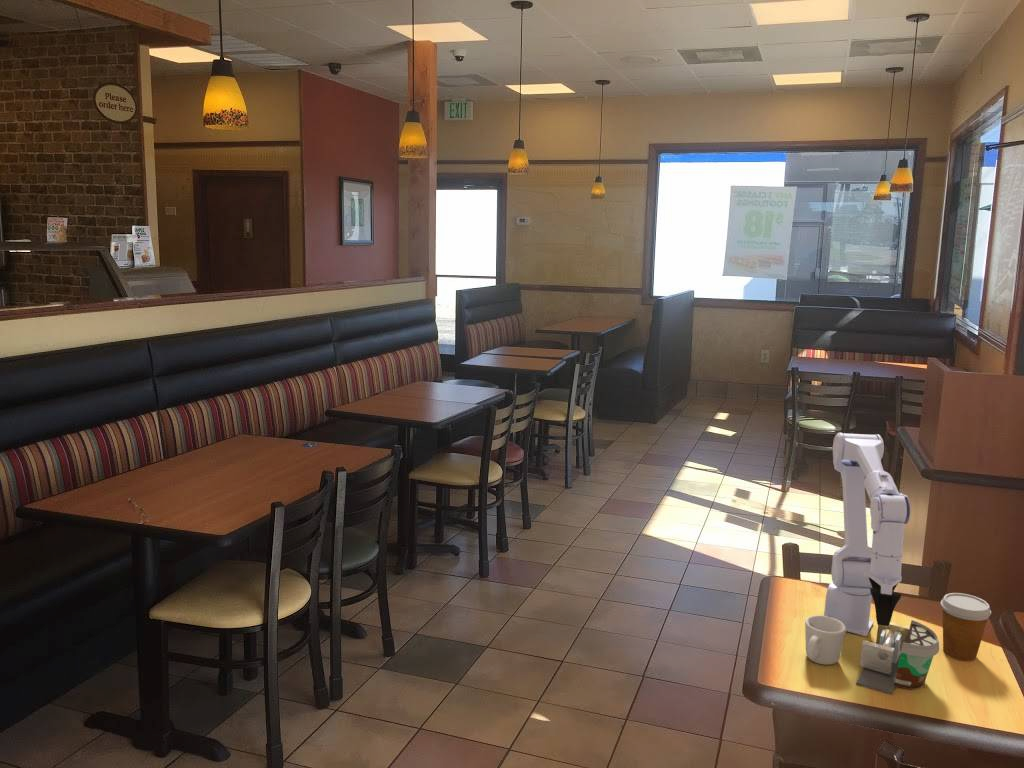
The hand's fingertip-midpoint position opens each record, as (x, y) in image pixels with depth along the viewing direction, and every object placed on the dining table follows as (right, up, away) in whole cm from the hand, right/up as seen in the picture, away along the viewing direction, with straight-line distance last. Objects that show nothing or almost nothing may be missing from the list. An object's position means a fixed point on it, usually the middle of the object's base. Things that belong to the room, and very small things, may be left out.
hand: (882, 618), depth 174 cm
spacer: (+5, -6, +7) cm, 10 cm away
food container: (+5, -12, -3) cm, 13 cm away
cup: (-11, -10, +4) cm, 16 cm away
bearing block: (+4, -10, +5) cm, 12 cm away
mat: (+1, -11, +2) cm, 11 cm away
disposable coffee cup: (+20, -10, +8) cm, 24 cm away
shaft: (+2, -9, +4) cm, 10 cm away
